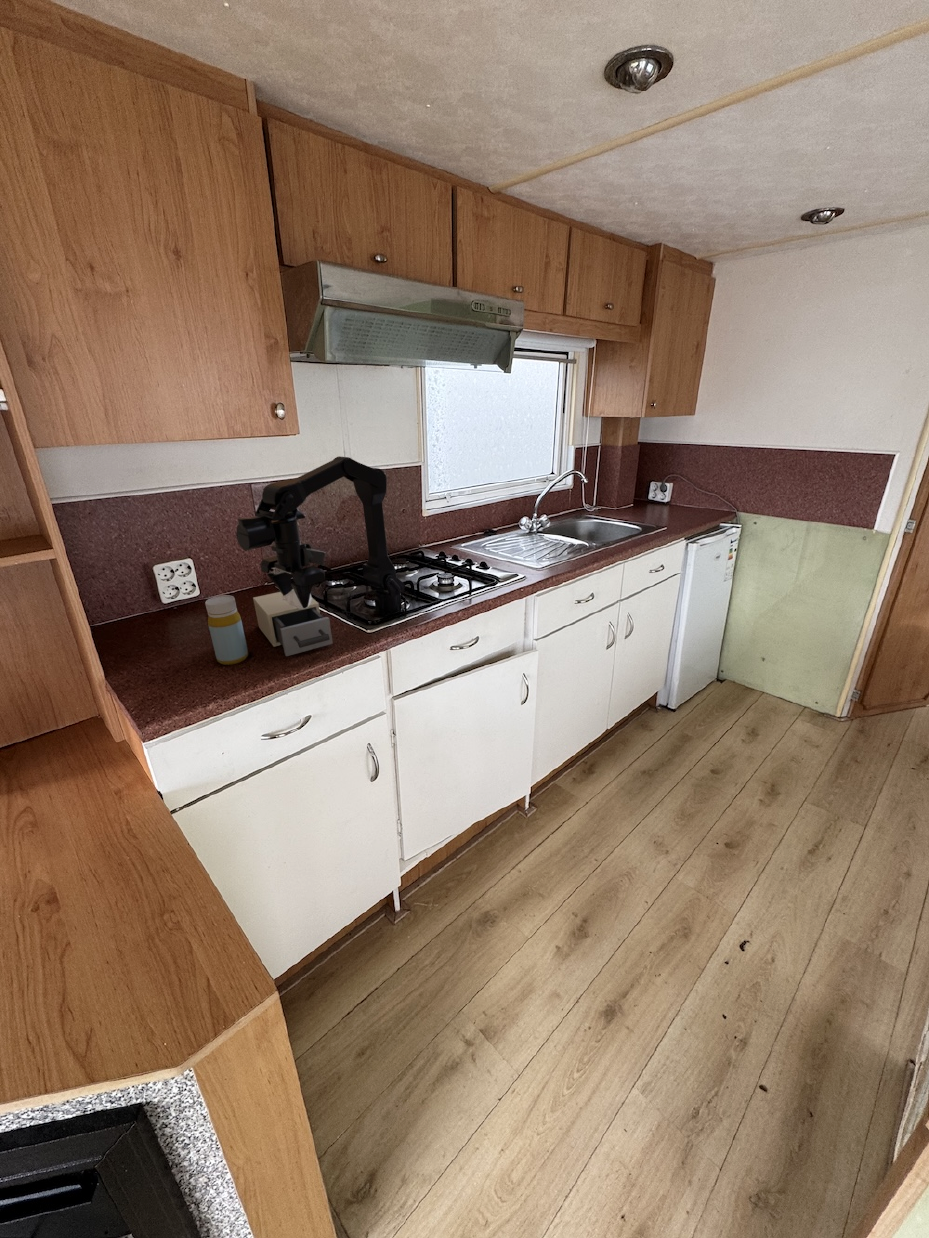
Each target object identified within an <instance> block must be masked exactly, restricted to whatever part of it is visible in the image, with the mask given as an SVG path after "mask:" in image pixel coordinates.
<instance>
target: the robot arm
mask: <svg viewBox="0 0 929 1238" xmlns="http://www.w3.org/2000/svg"><path fill="white" fill-rule="evenodd" d="M342 478H345V480H347V481H350V482H352V483H353V486H354V490H355V493H356V495H357V496H358V498H359V500H360V502H361V503H362V509H363V515H364V516H363V517H364V523H365V524H364V526H365V533H366V541H367V550H368V558H367V561H366V563H362V565H361V568H362V571H363V576H362V578H363V579H364V580H365V583H366V584H368V585H369V587H370V589H371V590H372V591H375V596H374V599H373V600H374V611H375V612H376V613H378V615H380V616H381V617H383V618H387V617H391V616H394V615H398V614H401V613H405V611H406V610H405V609H404V608H403V605H402V595H401V593H404V592H405V589H406V588H405V587H406V584H405V583H404V582H403V581H402V580H401V579H400V578H398V577H397V573H396V569H395V565H394V564H393V562H392V561H391V558H389V555H388V546H387V536H386V527H385V526H386V525H385V516H384V507H383V503H384V500H385V497H386V495H387V490H388V477H387V474H386V472H384V471H383V470H382V469H381V468H378V467H371V466H369V465H367V464H363V463H361V462H359V461H357V460H355V459H353V458H352V457H350V456H349V457H348V456H336V457H335V458H333V459H332V460H329V461H328V462H326V463H323V464H322V465H320V466H317V467H316V468H314V469H312V470H310V471H308V472H305V473H304V474H302V475H300V476H298V477H295V478H290V479H286V480H285V479H284V480H279V481H276V482H273V483H269V484H267V485H266V486H264V487H263V491H262V493H261V499H260V502H259V504H258V506H257V508H256V511H255V513H254V516H250V517H240V518H239V517H238V519H237V522H238V524H237V525H236V532H235V537H236V541H237V543H238V545H239V547H240V548H241V549H242V550H243V551H246V552H247V551H251V550H255V549H259V548H264V547H267V546H270V548H271V551H272V552H275V556H274V555H273V556H271V557H267V558H263V559H262V561H260V570H261V572H262V573H265V574H267V577H268V578H270V580H271V581H272V583H274V585H275V586H276V587H277V589H278V590H279V592H281V593H282V594H283V596H284V595H286V594H288V593H289V592H290V591H292V589H294V591H295V593H296V595H297V597H298V599H299V601H300V603H301V605H302V607H303V608H306V607H308V603H309V598H310V593H312V589H313V587H314V585H315V584H317V583H321V582H324V581H326V580H327V577H326V572H325V570H323V569H322V568H320V567H317V566H314V565H311V564H317V565H318V564H319V565H320V566H324V564H325V558H326V551H323V550H319V549H316V548H312V546H311V544H310V543H305V542H301V536H300V530H299V529H300V528H299V522H298V520H302V519H306V514H305V513H303V512H302V511H300V510H299V507H300V506H301V505H302V504H304V502H305V501H306V500H307V498H308V497H309V496H310V495H311V494H314V493H316V492H317V491H319V490H321V489H323V488H326V487H327V486H329V485H331V484H333V483H334V482H336V481H338V480H340V479H342ZM272 510H273V511H272ZM273 543H274V544H273ZM292 580H293V582H292Z"/></svg>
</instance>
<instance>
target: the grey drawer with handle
mask: <svg viewBox="0 0 929 1238" xmlns="http://www.w3.org/2000/svg"><path fill="white" fill-rule="evenodd" d="M272 622H273V627H274V632H275V637H276V639H277V640H278V641H279V642H280V644H281V645H280V646H281V647H282V648H283V652H284V655H285V657H289V656H293V655H297V654H300V653H304V652H308V651H312V650H315V649H318V648H322V647H325V646H329V645H333V636H332V629H331V622H330V618H329V617H328V616H325V617H324V616H323V615H322V614H321V612H320V613H318V612H317V611H316V610H315V609H314V608H308V609H304V610H300V611H296V612H291V613H287V614H283V615H279V616H274V617H272Z"/></svg>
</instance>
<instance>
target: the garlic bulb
mask: <svg viewBox="0 0 929 1238" xmlns="http://www.w3.org/2000/svg"><path fill="white" fill-rule="evenodd" d="M292 589H293V588H292ZM311 593H312V592H311ZM311 593H310V598H309V603H308V607H309V606H310V604H311V597H312V594H311ZM283 600H286V601H287V602H288V603H289V604H291V605H292V606H294V607H297V608H298V609H305V608H303V607H302V605H301V603H300V601H299V599H298V597H297V595H296V593H295V591H294V589H293V590H292V591H290V592H289V593H288V594H286V595H284V597H283ZM306 608H307V607H306Z"/></svg>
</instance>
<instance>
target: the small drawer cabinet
mask: <svg viewBox="0 0 929 1238" xmlns="http://www.w3.org/2000/svg"><path fill="white" fill-rule="evenodd" d="M292 590H293V588H292ZM283 597H284V596H283V594H282V593H281V592H280V591H277V592H273V593H268V594H264V595H260V596H255V597H252V599H253V604H254V609H255V615H256V619H257V625H258V628H259V630H260V631H261V632H262V633H263V635H264V636H265V638H266V639H267V640H268V641H269V643H270V644H271V646H272V647H273V648H275V647H279V646H282V645H281V644H280V642H279V641H278V640H277V639H276V637H275V632H274V627H273V622H272V617H274V616H279V615H283V614H287V613H291V612H296V611H300V610H304V609H298V608H297V607H294V606H292V605H291V604H289V603H288V602H287V601H286V600H283ZM319 604H320V603H319V602H318V601H316V599H315V598H313V597H312V596H311V604H310V606H309V607H307V608H305V609H308V608H314V609H315V610H316V611H317V612H318V613H320V614H321V611H320V605H319Z"/></svg>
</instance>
